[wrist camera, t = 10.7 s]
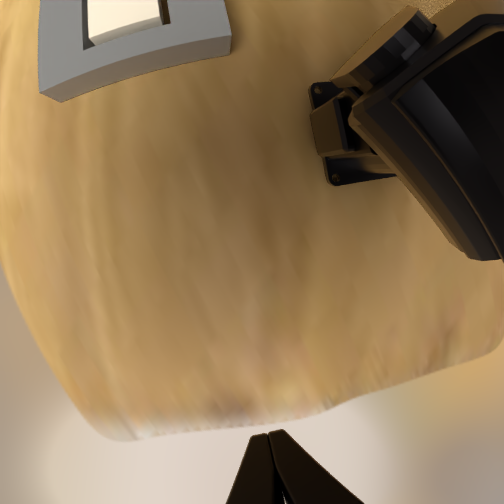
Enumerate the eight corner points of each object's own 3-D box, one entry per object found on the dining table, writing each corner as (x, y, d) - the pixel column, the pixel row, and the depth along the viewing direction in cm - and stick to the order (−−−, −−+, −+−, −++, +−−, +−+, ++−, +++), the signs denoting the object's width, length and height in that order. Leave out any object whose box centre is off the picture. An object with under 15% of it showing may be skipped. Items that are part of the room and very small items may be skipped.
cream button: (159, -8, 14) (153, -33, 12) (166, 37, 15) (159, 16, 13) (101, 9, 14) (87, -12, 11) (104, 56, 15) (88, 38, 12)
